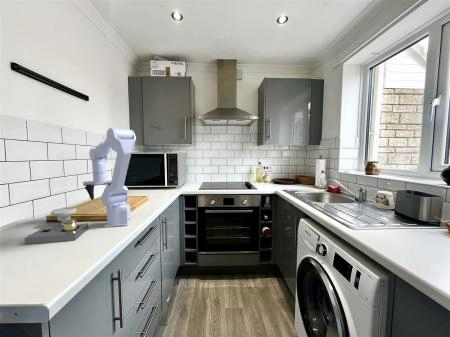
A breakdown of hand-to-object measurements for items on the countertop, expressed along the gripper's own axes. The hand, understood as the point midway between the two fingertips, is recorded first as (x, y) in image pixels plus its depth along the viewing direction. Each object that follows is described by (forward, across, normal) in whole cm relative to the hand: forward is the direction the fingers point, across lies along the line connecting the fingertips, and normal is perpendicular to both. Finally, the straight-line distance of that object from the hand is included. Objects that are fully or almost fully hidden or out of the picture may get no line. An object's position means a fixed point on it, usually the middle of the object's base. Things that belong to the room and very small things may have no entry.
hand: (100, 199), depth 104 cm
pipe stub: (+9, +4, +22) cm, 24 cm away
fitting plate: (+9, +8, +22) cm, 25 cm away
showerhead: (+10, +14, +6) cm, 18 cm away
